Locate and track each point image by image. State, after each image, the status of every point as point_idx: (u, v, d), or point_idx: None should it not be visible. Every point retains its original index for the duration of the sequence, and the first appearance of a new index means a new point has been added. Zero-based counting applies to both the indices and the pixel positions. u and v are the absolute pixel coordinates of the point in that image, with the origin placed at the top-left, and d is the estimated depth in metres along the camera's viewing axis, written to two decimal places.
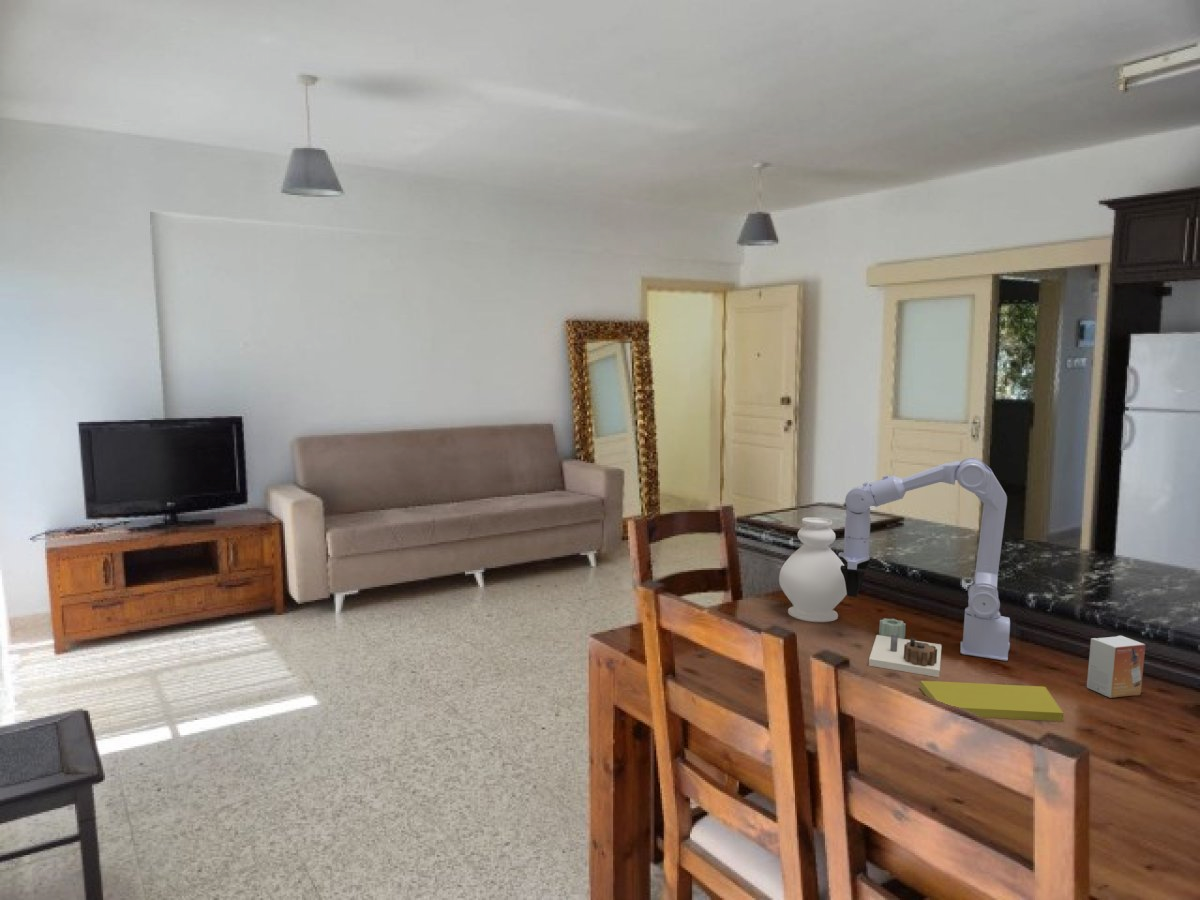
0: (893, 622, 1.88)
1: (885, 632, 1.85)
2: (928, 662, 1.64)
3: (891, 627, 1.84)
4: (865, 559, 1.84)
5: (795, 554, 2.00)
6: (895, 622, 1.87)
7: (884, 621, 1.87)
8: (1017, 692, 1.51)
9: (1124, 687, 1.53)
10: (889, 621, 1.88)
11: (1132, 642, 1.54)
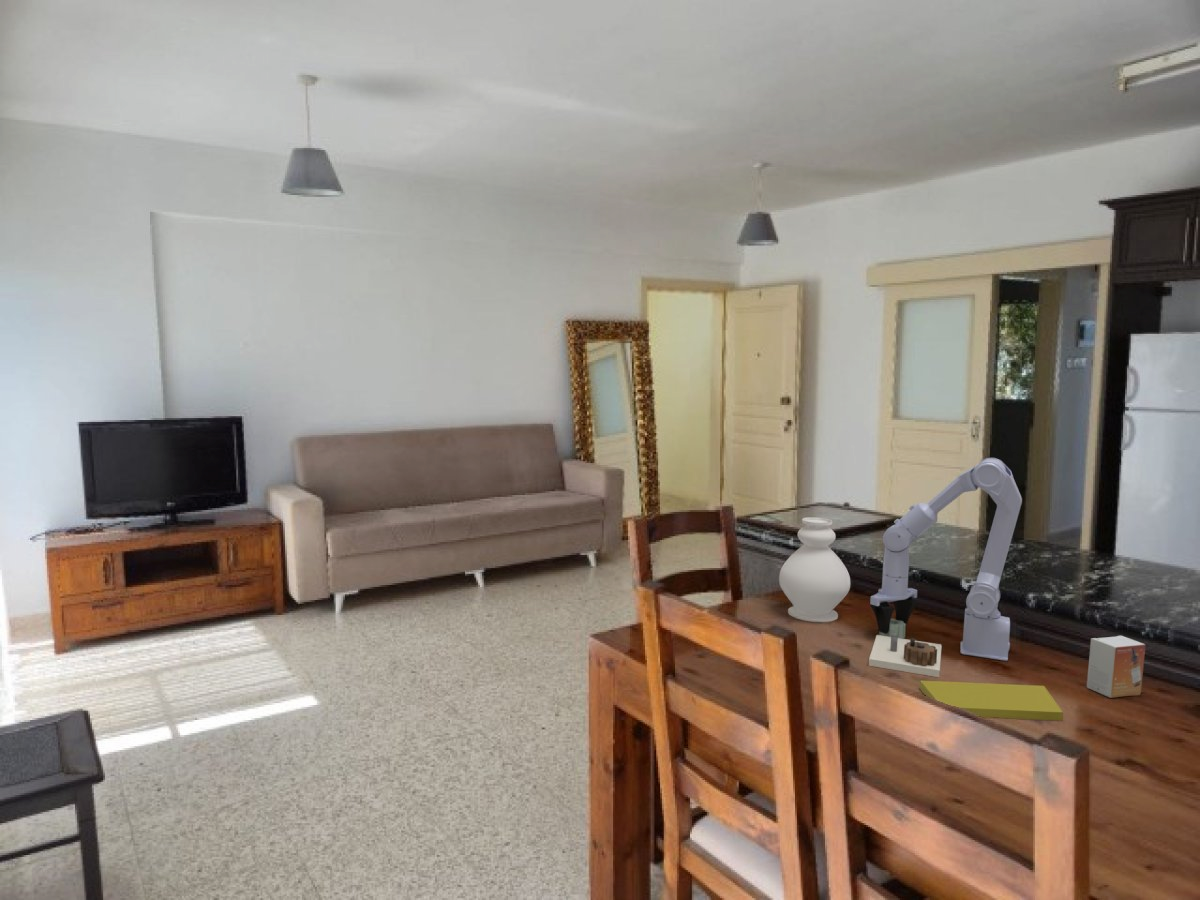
0: (893, 622, 1.88)
1: None
2: (928, 662, 1.64)
3: (891, 627, 1.84)
4: (896, 598, 1.82)
5: (795, 554, 2.00)
6: (895, 622, 1.87)
7: None
8: (1016, 691, 1.51)
9: (1124, 687, 1.53)
10: None
11: (1132, 642, 1.54)
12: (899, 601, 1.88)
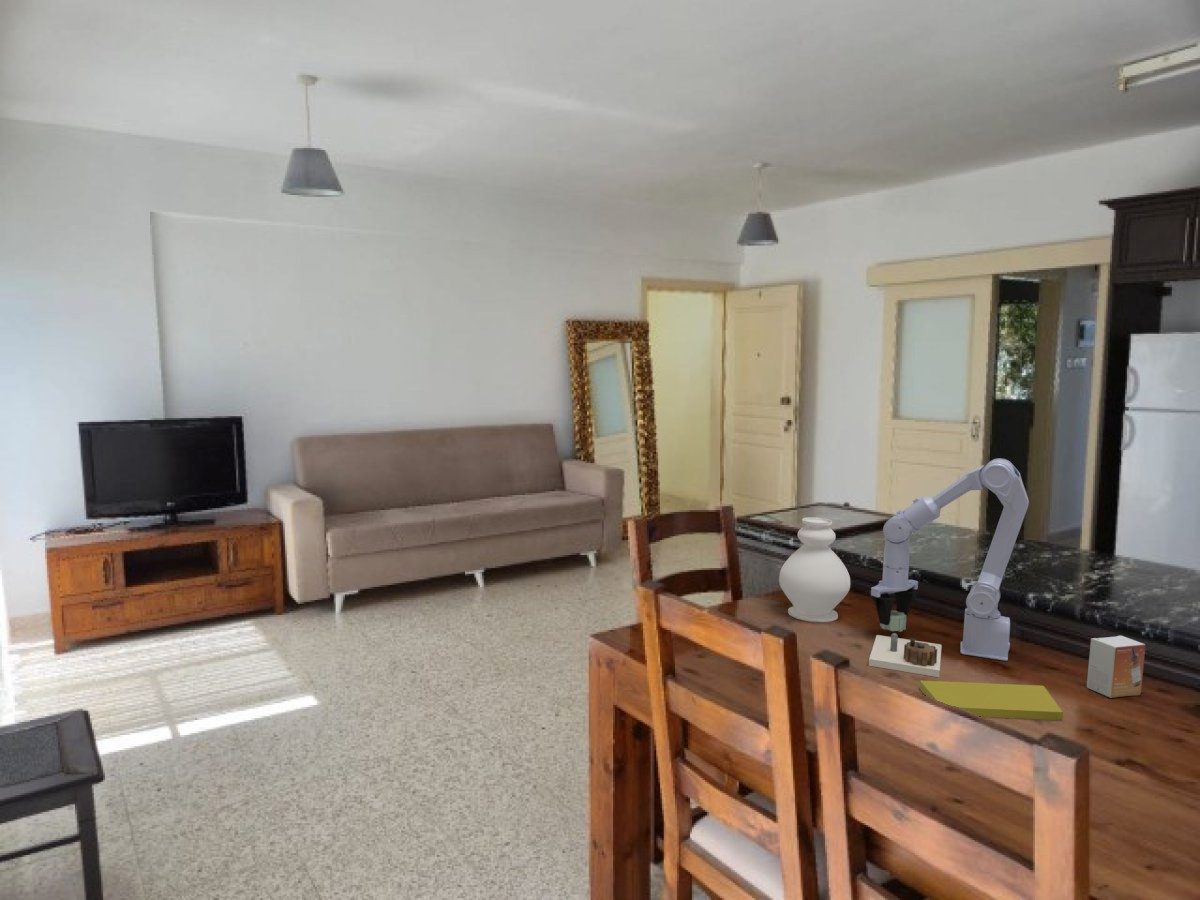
0: (894, 614, 1.87)
1: None
2: (928, 662, 1.64)
3: (892, 618, 1.84)
4: (897, 589, 1.82)
5: (795, 554, 2.00)
6: (896, 614, 1.87)
7: None
8: (1016, 691, 1.51)
9: (1124, 687, 1.53)
10: None
11: (1132, 642, 1.54)
12: (900, 592, 1.88)
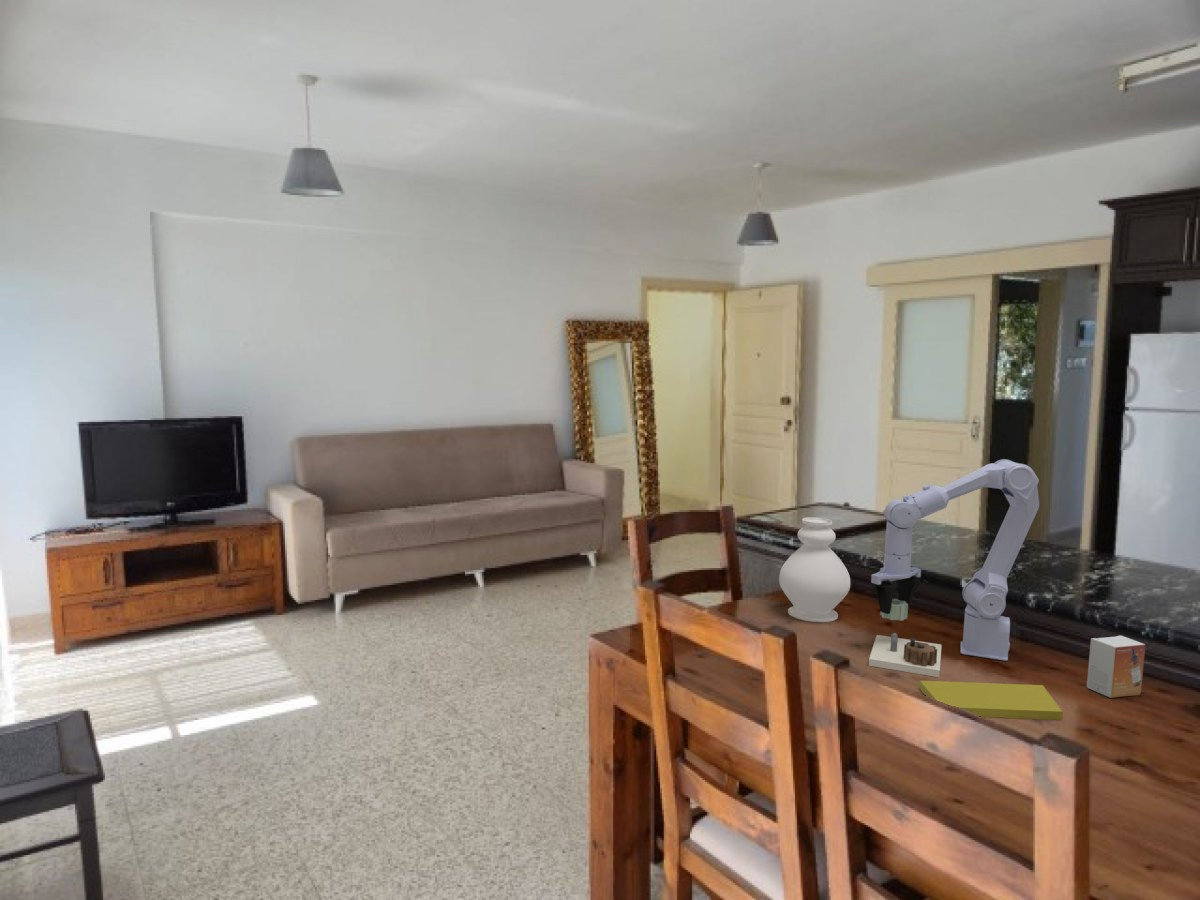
0: (895, 602, 1.79)
1: None
2: (928, 662, 1.64)
3: (892, 607, 1.76)
4: (898, 576, 1.74)
5: (795, 554, 2.00)
6: (897, 602, 1.79)
7: None
8: (1015, 691, 1.52)
9: (1124, 687, 1.53)
10: None
11: (1132, 642, 1.54)
12: (902, 580, 1.80)
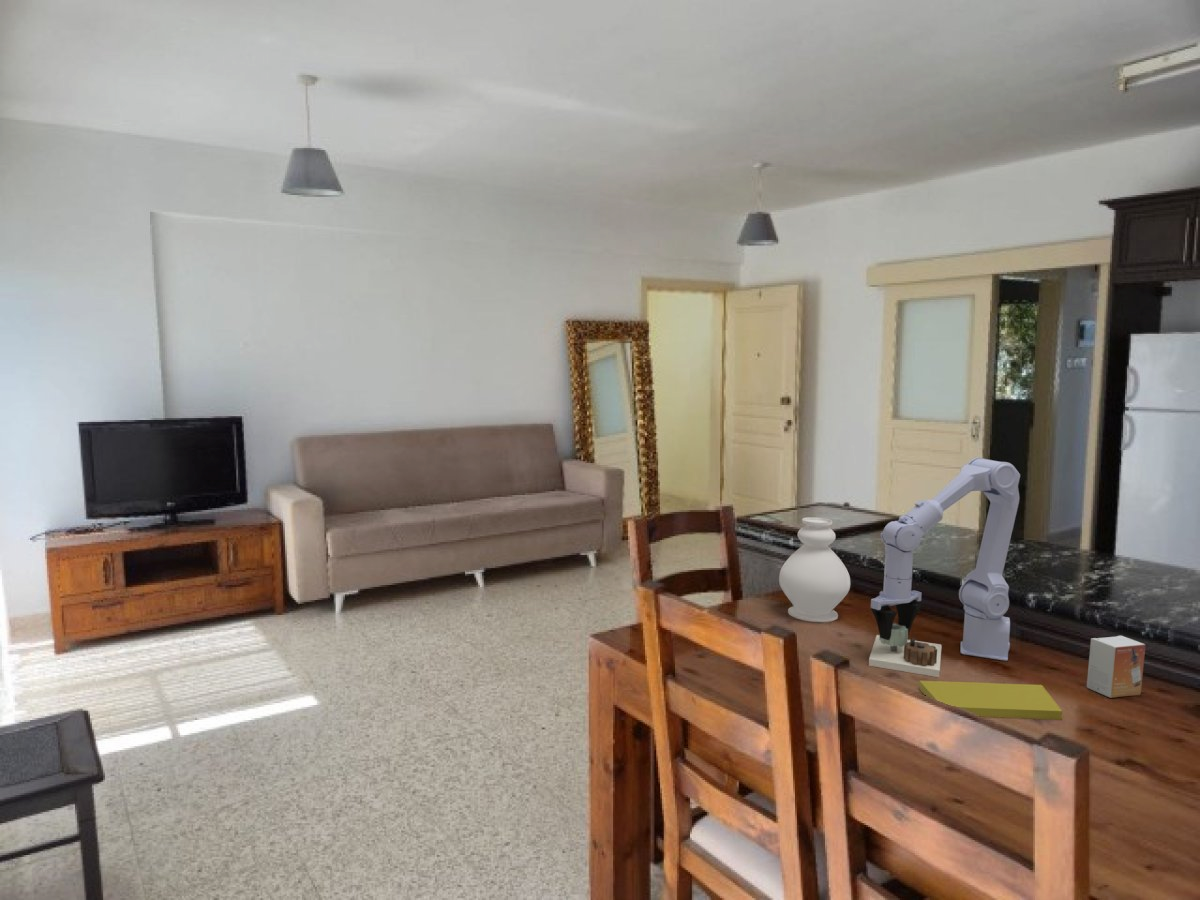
0: (895, 627, 1.73)
1: None
2: (928, 662, 1.64)
3: (891, 633, 1.70)
4: (899, 601, 1.68)
5: (795, 554, 2.00)
6: (897, 627, 1.73)
7: None
8: (1015, 690, 1.52)
9: (1124, 687, 1.53)
10: None
11: (1132, 642, 1.54)
12: (902, 604, 1.74)
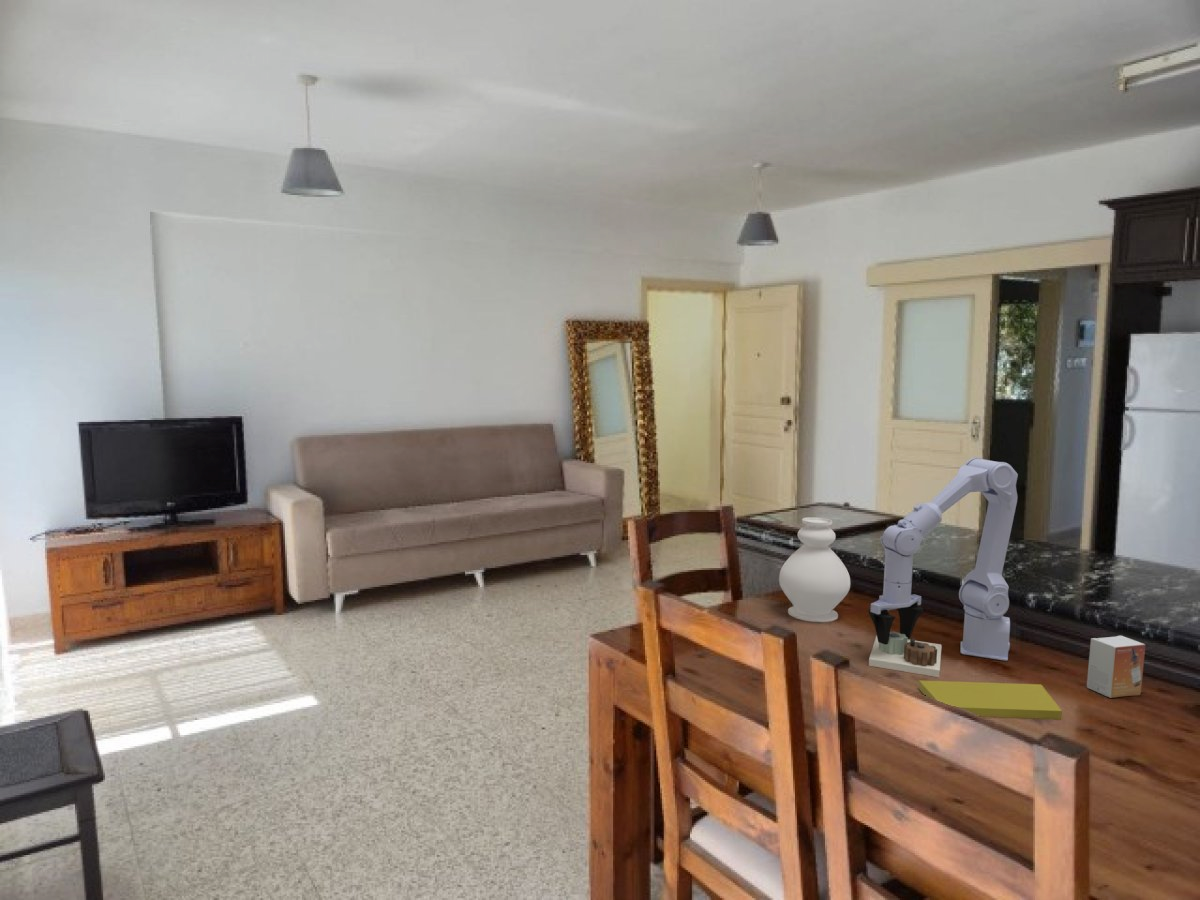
0: None
1: (885, 646, 1.72)
2: (928, 662, 1.64)
3: (891, 641, 1.70)
4: (898, 605, 1.68)
5: (795, 554, 2.00)
6: None
7: None
8: (1014, 690, 1.52)
9: (1124, 687, 1.53)
10: (890, 634, 1.74)
11: (1132, 642, 1.54)
12: (903, 608, 1.74)
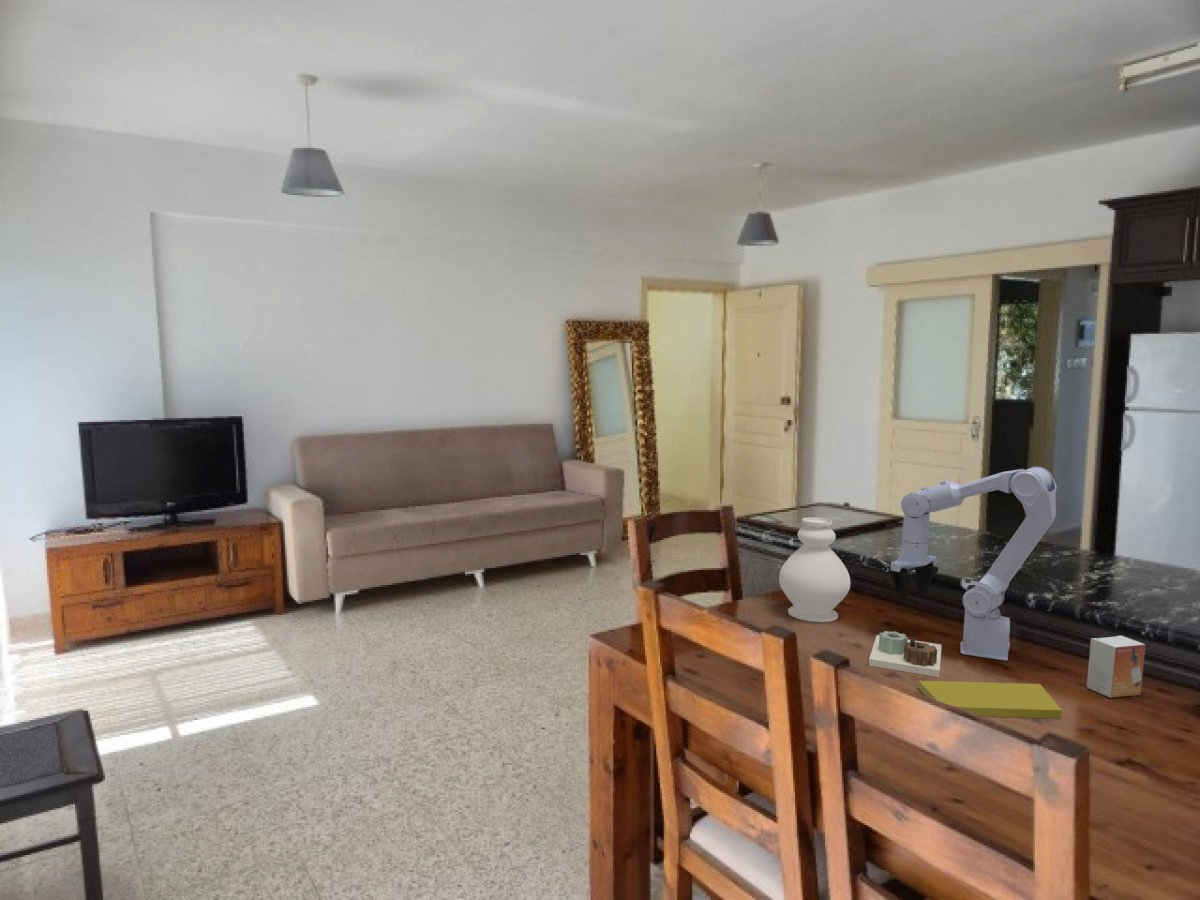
0: None
1: (885, 646, 1.72)
2: (928, 662, 1.64)
3: (891, 641, 1.70)
4: (916, 564, 1.83)
5: (795, 554, 2.00)
6: None
7: (884, 634, 1.73)
8: (1014, 690, 1.52)
9: (1124, 687, 1.53)
10: (890, 634, 1.74)
11: (1132, 642, 1.54)
12: (920, 568, 1.89)
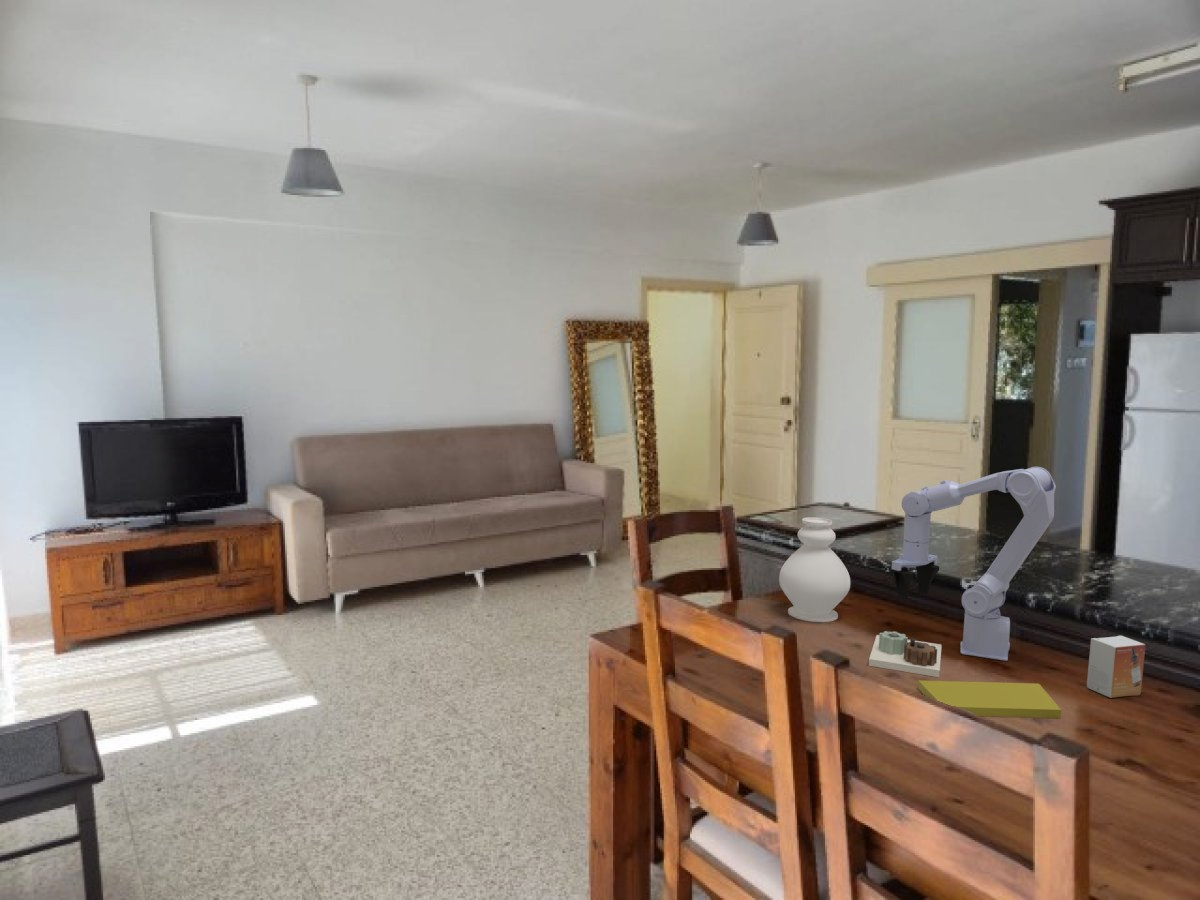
0: None
1: (885, 646, 1.72)
2: (928, 662, 1.64)
3: (891, 641, 1.70)
4: (917, 563, 1.84)
5: (795, 554, 2.00)
6: None
7: (884, 634, 1.73)
8: (1013, 689, 1.52)
9: (1124, 687, 1.53)
10: (890, 634, 1.74)
11: (1132, 642, 1.54)
12: (921, 567, 1.90)
